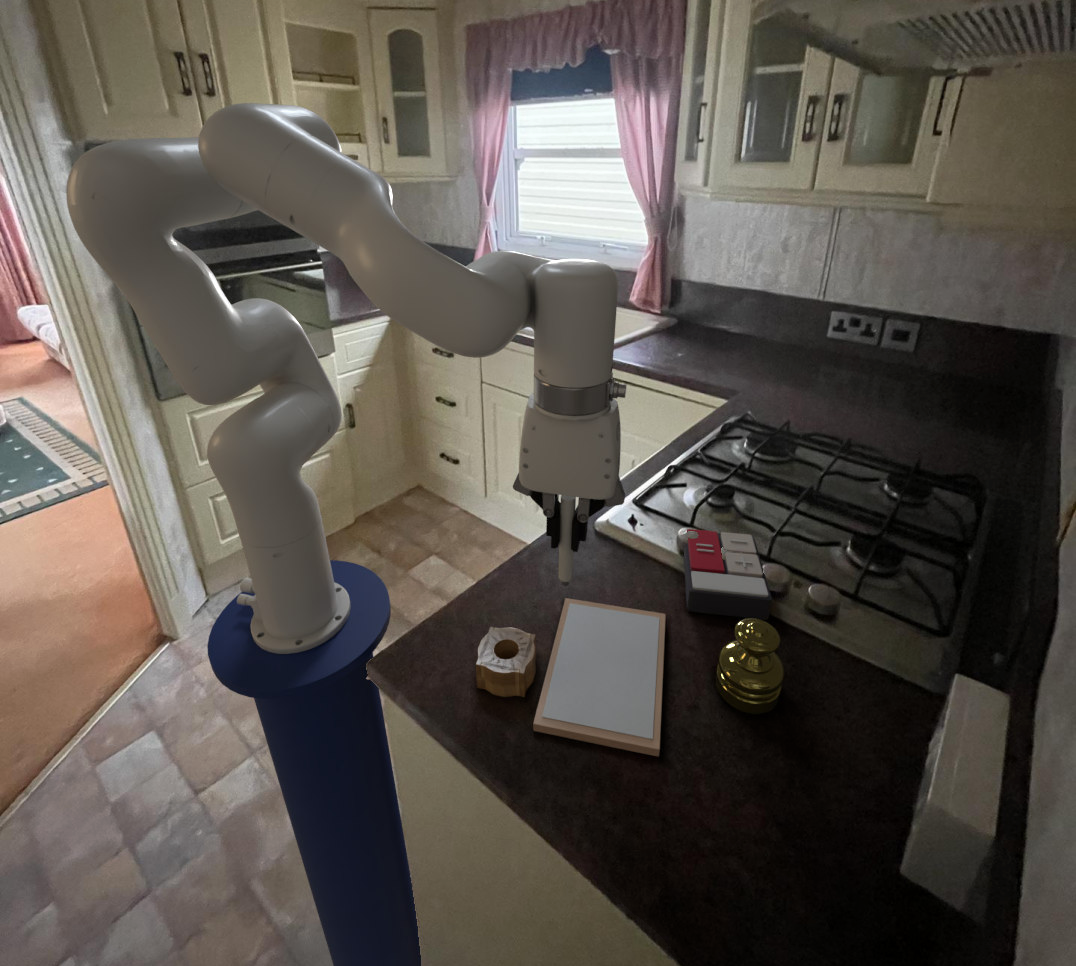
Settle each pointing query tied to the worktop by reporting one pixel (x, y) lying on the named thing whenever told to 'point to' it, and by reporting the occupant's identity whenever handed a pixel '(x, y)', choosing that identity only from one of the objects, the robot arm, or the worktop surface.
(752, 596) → the calculator
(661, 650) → the small whiteboard
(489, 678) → the holder
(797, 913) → the worktop surface
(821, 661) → the worktop surface
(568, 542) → the stylus
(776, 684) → the brass weight
